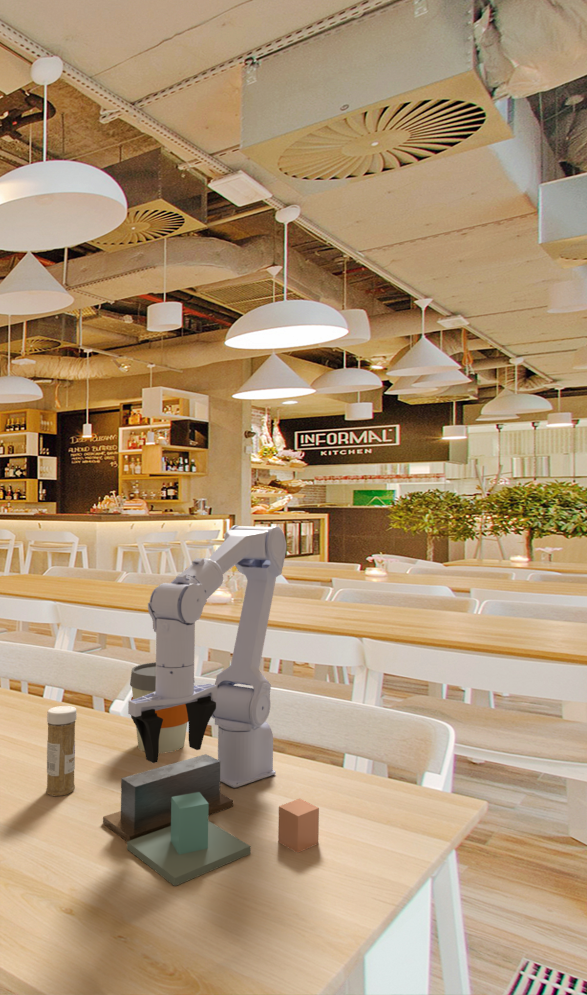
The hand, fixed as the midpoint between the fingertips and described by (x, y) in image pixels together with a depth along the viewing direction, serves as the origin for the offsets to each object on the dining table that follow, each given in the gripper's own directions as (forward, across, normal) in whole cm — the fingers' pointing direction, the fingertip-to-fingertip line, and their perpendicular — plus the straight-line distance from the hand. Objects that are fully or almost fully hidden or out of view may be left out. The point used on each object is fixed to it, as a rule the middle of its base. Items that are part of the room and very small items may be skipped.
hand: (173, 754), depth 100 cm
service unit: (+10, -1, -2) cm, 10 cm away
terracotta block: (+10, -9, +18) cm, 22 cm away
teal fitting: (+9, +4, +10) cm, 13 cm away
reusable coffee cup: (+10, -16, -28) cm, 34 cm away
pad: (+10, +4, +9) cm, 14 cm away
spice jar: (+10, +8, -21) cm, 24 cm away
